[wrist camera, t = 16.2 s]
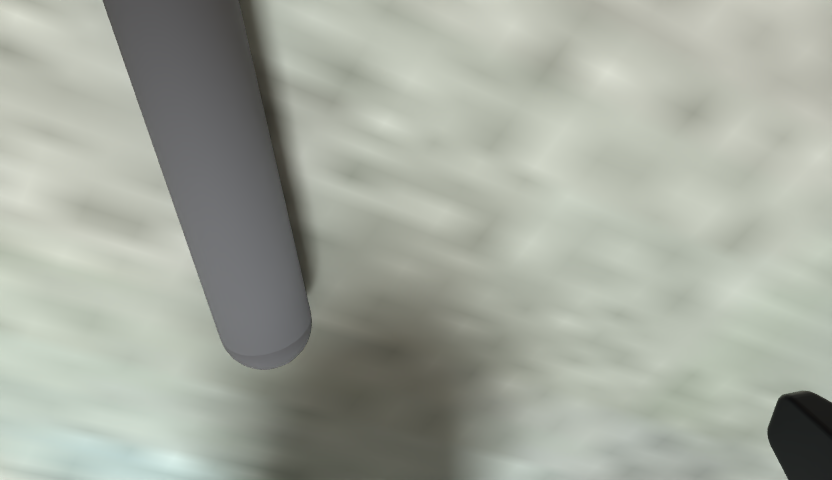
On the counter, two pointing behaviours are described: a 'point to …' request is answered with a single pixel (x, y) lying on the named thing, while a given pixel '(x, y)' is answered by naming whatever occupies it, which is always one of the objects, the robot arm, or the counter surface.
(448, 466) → the counter surface
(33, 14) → the counter surface
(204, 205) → the grey rounded rod
